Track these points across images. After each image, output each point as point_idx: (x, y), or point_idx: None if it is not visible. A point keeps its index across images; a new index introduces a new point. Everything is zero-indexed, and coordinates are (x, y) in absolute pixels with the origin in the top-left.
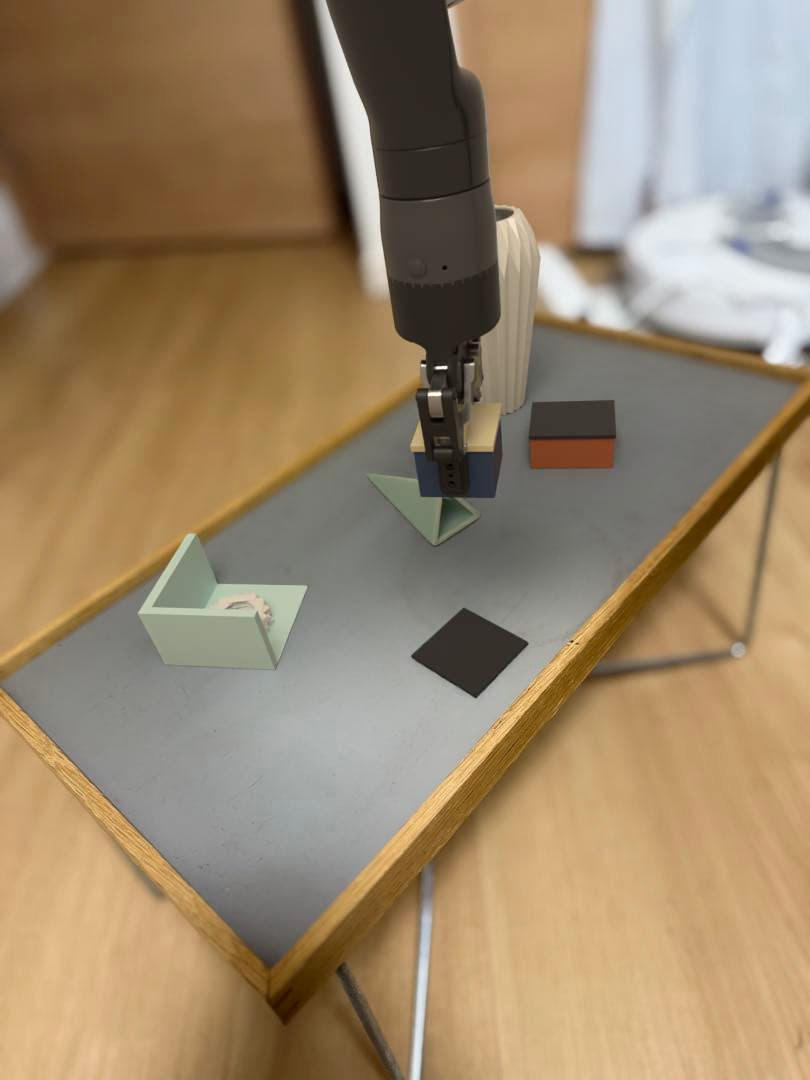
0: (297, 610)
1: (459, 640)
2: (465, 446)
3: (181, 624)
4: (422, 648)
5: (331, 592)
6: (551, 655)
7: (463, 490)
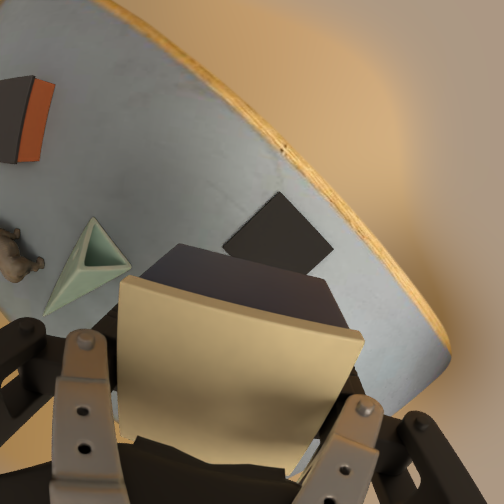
0: None
1: (267, 256)
2: (372, 410)
3: None
4: None
5: None
6: (296, 172)
7: None
